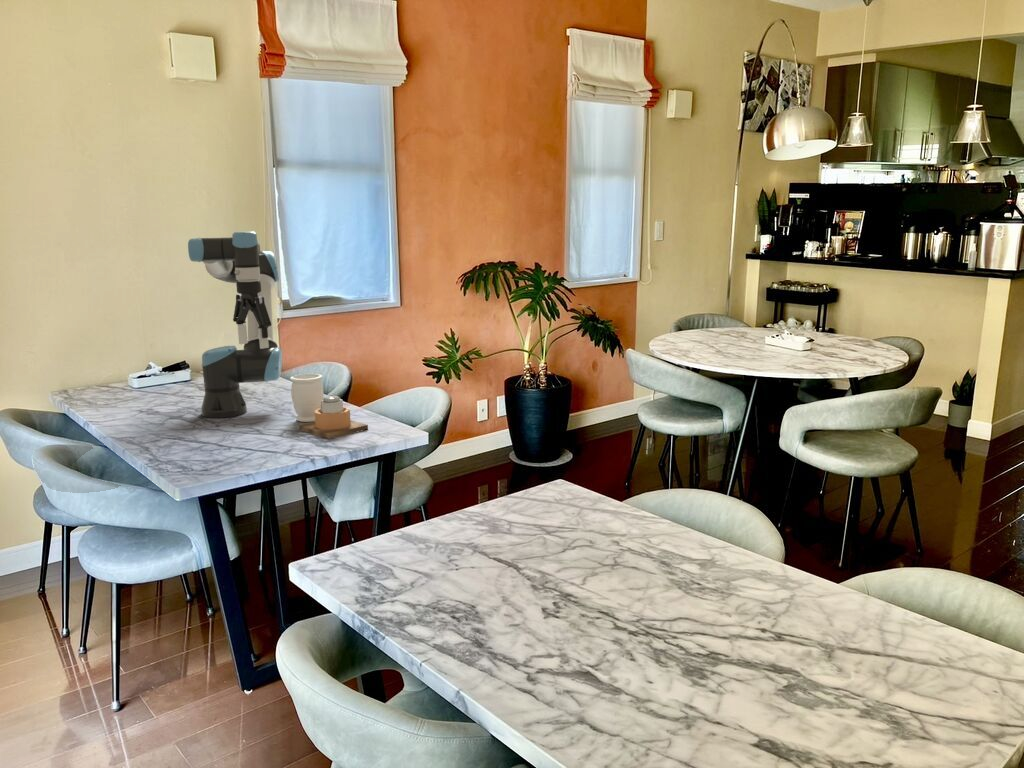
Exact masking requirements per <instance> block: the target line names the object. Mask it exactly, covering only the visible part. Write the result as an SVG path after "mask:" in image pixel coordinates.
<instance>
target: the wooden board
mask: <svg viewBox="0 0 1024 768" xmlns="http://www.w3.org/2000/svg"><path fill="white" fill-rule="evenodd" d="M350 420H351V425H349V426H348V427H345V428H340V429H331V430H327V429H319V428H316V425H315V421H313V422H305V423H302V424H298V430H300V431H302V432H306V433H308V434H312V435H315V436H318V437H321V438H324V439H327V440H330V439H331V440H332V439H335V438H338V437H342V436H343V437H344V436H346V435H350V433H351V434H355V433H358V432H357V431H359V432H362V431H361V430H363V431H366V430H365V429H367V430H369V425H368V424H366V423H362V422H360V421H359V422H358V421H355V420H353V419H350ZM354 432H355V433H354Z"/></svg>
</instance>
